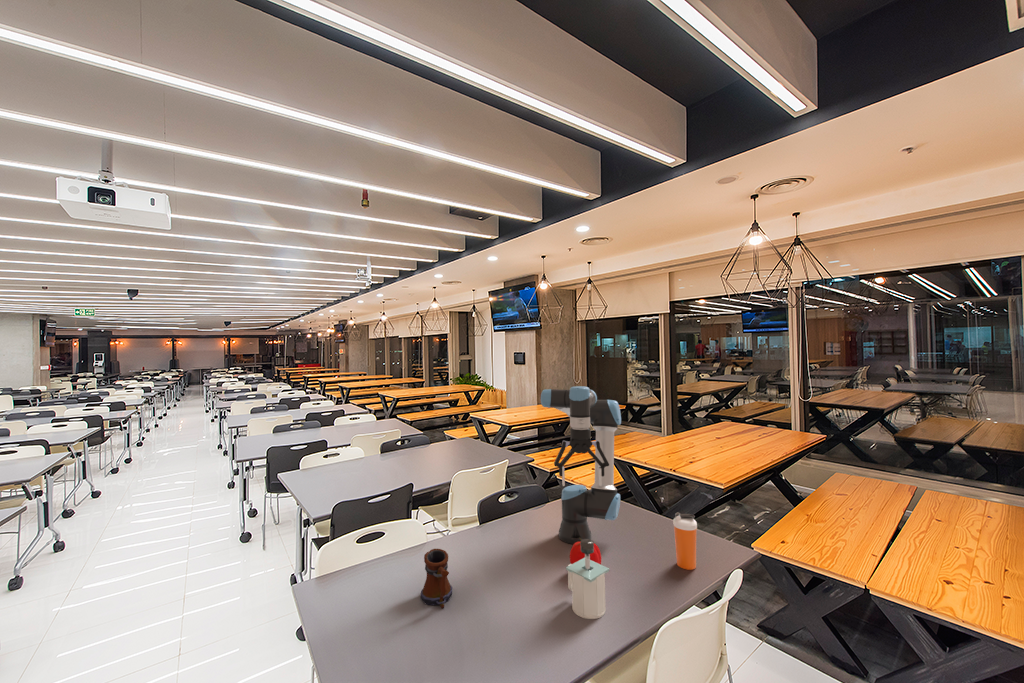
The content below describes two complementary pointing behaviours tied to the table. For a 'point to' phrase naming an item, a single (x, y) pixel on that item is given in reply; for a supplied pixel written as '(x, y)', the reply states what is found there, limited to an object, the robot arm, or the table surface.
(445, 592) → the mug
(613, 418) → the robot arm
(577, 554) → the tomato
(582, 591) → the press pot
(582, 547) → the plunger
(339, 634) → the table surface
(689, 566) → the shaker bottle
